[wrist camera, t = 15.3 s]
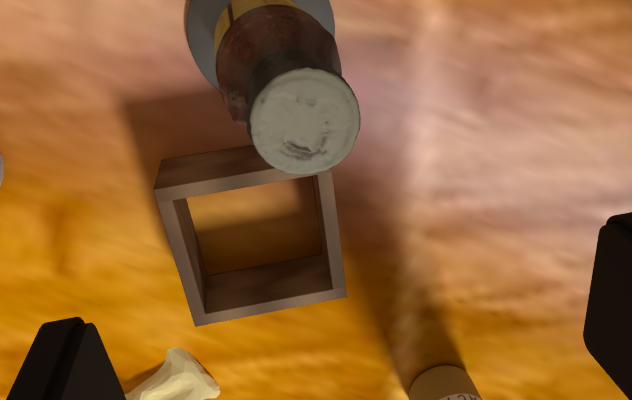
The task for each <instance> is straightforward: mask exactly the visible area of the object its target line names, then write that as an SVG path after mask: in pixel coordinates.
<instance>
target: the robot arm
mask: <svg viewBox="0 0 632 400" xmlns="http://www.w3.org/2000/svg"><path fill="white" fill-rule="evenodd" d="M583 337H584V342H585V345H586V347H587V349H588V351H589V352H590V354H591V355H592V356H593V357H594V358H595V360H596V361H597V362H598V363H599V364H600V366H601V367H602V368H603V369H604V370H605V371H606V373H607V374H608V375H609V376H610V377H611V379H612V380H613V381H614V382H615V383H616V385H617V386H618V387H619V388H620V389H621V390H622V392H623V393H624V394H625V395H626V396H627V398H628V399H629V400H632V212H630V213H625V214H620V215H614V216H612V217H610V218H609V219H608V220H607V223H606V225H604V226H602V227H601V229H600V231H599V236H598V242H597V249H596V255H595V261H594V268H593V274H592V280H591V287H590V293H589V300H588V306H587V312H586V319H585V325H584V331H583ZM6 400H127V399H126V397H125V395H124V392H123V390H122V388H121V385H120V383H119V381H118V378H117V376H116V373H115V371H114V369H113V366H112V364H111V362H110V359H109V357H108V354H107V352H106V350H105V347H104V345H103V343H102V340H101V338H100V335H99V333H98V331H97V328H96V327H95V325H94V324H93V323H87V324H85V323H84V321H83V320H82V319H81V318H80V317H73V318H68V319H63V320H58V321H52V322H47V323H44V324H43V325H42V326H41V327H40V329H39V331H38V333H37V335H36V337H35V339H34V342H33V344H32V346H31V348H30V350H29V352H28V354H27V356H26V359H25V361H24V363H23V365H22V367H21V369H20V371H19V373H18V376H17V378H16V380H15V382H14V384H13V386H12V388H11V390H10V393H9V395H8V397H7V399H6Z"/></svg>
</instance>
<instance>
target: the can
mask: <svg viewBox="0 0 632 400" xmlns="http://www.w3.org/2000/svg"><path fill="white" fill-rule="evenodd" d="M3 177H4V161H3V158H2V156H1V153H0V186H1V183H2V180H3Z"/></svg>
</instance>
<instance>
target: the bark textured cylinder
mask: <svg viewBox="0 0 632 400" xmlns="http://www.w3.org/2000/svg"><path fill="white" fill-rule="evenodd" d="M409 400H482V399H481V397H480V395H479V393H478V391H477V389H476V387H475V386H474V384H473V382H472V380H471V378H470V376H469V375H468V374H467V373H466V372H465V371H464V370H462V369H460V368H458V367H455V366H450V365H442V366H437V367H433V368H431V369H429V370H427V371H425V372H423V373H422V374H420V375H419V376H418V377H417V378H416V379H415V380H414V382H413V383H412V385H411V388H410V391H409Z"/></svg>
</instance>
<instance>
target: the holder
mask: <svg viewBox="0 0 632 400" xmlns="http://www.w3.org/2000/svg"><path fill="white" fill-rule="evenodd" d="M306 176H312V180H313V187H314V194H315V201H316V208H317V215H318V222H319V229H320V236H321V243H322V250H323V254H322V255H317V256H311V257H306V258H301V259H296V260H290V261H285V262H280V263H274V264H269V265H264V266H258V267H253V268H248V269H243V270H237V271H232V272H227V273H221V274H216V275H211V276H207V273H206V269H205V266H204V262H203V258H202V255H201V251H200V247H199V244H198V240H197V236H196V233H195V229H194V226H193V222H192V218H191V215H190V211H189V207H188V204H187V200H186V198H188V197H194V196H199V195H205V194H211V193H216V192H222V191H228V190H233V189H239V188H244V187H250V186H256V185H261V184H267V183H273V182H278V181H284V180H290V179H295V178H301V177H306ZM153 191H154V194H155V197H156V201H157V204H158V207H159V210H160V214H161V217H162V220H163V223H164V227H165V230H166V233H167V236H168V240H169V243H170V246H171V249H172V253H173V256H174V259H175V263H176V266H177V269H178V272H179V276H180V279H181V282H182V285H183V289H184V292H185V295H186V298H187V302H188V305H189V308H190V311H191V315H192V318H193V321H194V325H195V327H196V326H202V325H207V324H212V323H217V322H222V321H227V320H232V319H237V318H242V317H248V316H253V315H258V314H263V313H268V312H273V311H278V310H283V309H289V308H294V307H299V306H304V305H309V304H314V303H319V302H324V301H330V300H335V299H340V298H345V297H347V293H346V285H345V277H344V268H343V260H342V252H341V244H340V235H339V227H338V219H337V211H336V203H335V194H334V186H333V178H332V170H331V168H329V169H327V170H325V171H322V172H319V173H315V174H306V175H298V174H288V173H284V172H281V171H279V170H277V169H276V168H274V167H273V166H271V165H270V164H268V163H266V162H265V160H264V159H263V158H262V157H261V156H260V155H259V154H258V153H257V151H256V149H255V147H254V145H249V146H243V147H237V148H231V149H226V150H220V151H214V152H208V153H202V154H196V155H191V156H185V157H179V158H173V159H167V160H162V161H161V164H160V168H159V171H158V175H157V178H156V182H155V186H154V189H153Z"/></svg>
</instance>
